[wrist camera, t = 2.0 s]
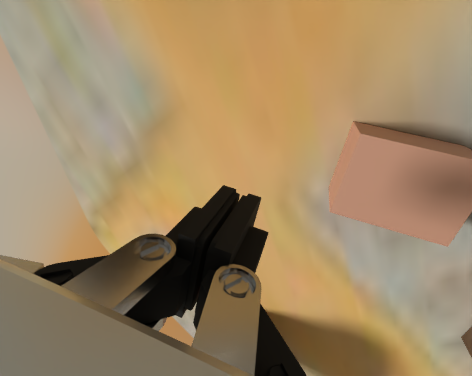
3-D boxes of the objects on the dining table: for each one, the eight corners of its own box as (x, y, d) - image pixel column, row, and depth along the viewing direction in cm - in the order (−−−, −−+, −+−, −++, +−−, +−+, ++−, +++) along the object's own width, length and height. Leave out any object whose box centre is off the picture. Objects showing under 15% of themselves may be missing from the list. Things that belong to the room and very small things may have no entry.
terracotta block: (353, 121, 21) (360, 133, 17) (462, 145, 20) (502, 166, 15) (328, 186, 24) (329, 211, 19) (423, 212, 22) (447, 246, 18)
